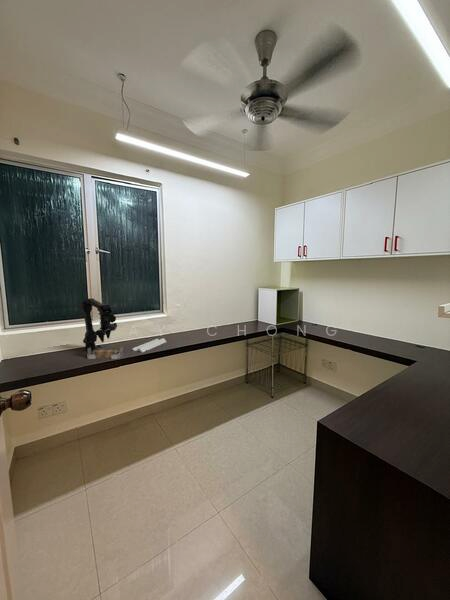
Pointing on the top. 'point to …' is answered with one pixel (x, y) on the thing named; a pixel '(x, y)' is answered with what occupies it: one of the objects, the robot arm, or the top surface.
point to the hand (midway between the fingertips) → (105, 340)
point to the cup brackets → (113, 356)
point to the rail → (104, 353)
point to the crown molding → (149, 345)
